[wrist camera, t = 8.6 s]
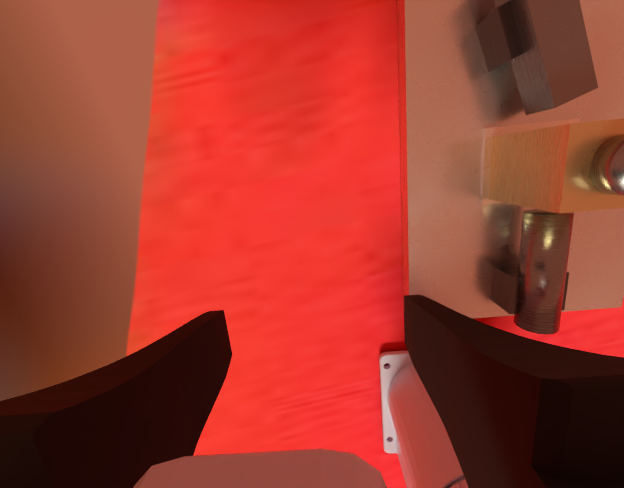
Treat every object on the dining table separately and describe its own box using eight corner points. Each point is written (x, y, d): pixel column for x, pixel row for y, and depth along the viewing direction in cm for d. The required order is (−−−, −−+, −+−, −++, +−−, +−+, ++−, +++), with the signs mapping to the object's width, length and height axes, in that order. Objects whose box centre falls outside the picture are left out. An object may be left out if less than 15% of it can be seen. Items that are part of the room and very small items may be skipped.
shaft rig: (600, 297, 21) (676, 332, 17) (403, 312, 22) (425, 350, 17) (656, -40, 16) (787, -119, 11) (396, -7, 17) (425, -69, 12)
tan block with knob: (563, 192, 18) (703, 208, 11) (488, 199, 18) (583, 218, 11) (571, 128, 17) (729, 105, 10) (492, 136, 17) (598, 118, 10)
